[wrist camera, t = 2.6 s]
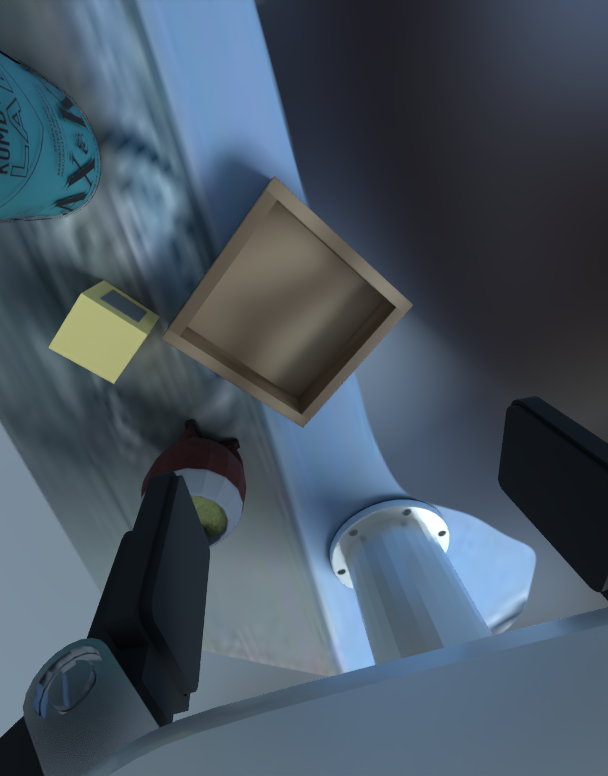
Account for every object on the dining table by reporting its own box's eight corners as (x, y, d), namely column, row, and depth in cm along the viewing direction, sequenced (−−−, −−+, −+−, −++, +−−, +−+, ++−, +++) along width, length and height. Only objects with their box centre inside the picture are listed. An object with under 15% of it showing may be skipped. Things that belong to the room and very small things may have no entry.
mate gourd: (231, 404, 30) (223, 570, 16) (256, 480, 33) (265, 665, 20) (138, 427, 29) (52, 614, 16) (173, 500, 33) (127, 702, 20)
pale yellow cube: (160, 315, 26) (147, 334, 22) (130, 359, 27) (113, 383, 23) (104, 278, 24) (80, 291, 21) (74, 326, 25) (47, 347, 22)
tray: (396, 295, 28) (412, 305, 25) (297, 407, 31) (302, 427, 28) (271, 179, 23) (274, 176, 21) (169, 324, 26) (161, 338, 24)
